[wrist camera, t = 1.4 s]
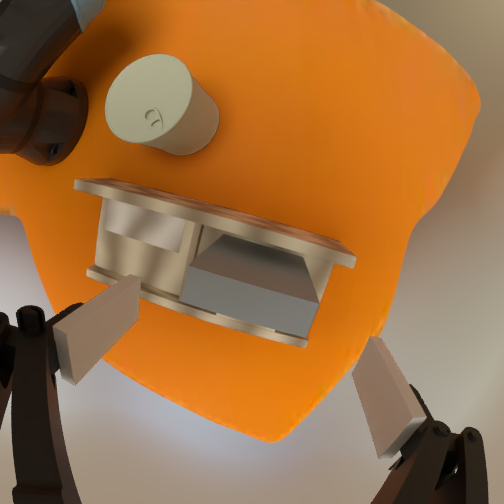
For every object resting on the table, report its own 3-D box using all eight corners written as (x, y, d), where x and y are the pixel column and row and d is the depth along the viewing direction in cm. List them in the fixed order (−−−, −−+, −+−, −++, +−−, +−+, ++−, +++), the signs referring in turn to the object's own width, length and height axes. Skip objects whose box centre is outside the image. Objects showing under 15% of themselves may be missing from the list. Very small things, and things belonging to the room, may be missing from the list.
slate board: (217, 256, 34) (181, 301, 21) (223, 233, 33) (188, 265, 20) (295, 279, 34) (306, 337, 20) (303, 257, 33) (319, 303, 20)
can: (167, 168, 33) (118, 162, 22) (142, 112, 32) (91, 88, 20) (231, 134, 32) (208, 107, 20) (202, 77, 30) (170, 35, 18)
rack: (97, 270, 37) (65, 287, 30) (110, 178, 34) (75, 179, 26) (303, 336, 37) (308, 371, 29) (339, 241, 33) (357, 257, 26)
